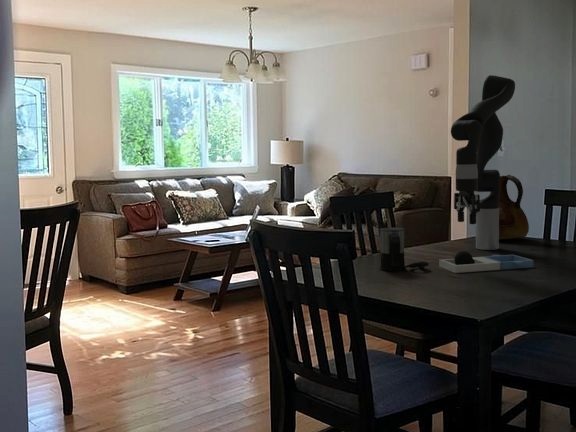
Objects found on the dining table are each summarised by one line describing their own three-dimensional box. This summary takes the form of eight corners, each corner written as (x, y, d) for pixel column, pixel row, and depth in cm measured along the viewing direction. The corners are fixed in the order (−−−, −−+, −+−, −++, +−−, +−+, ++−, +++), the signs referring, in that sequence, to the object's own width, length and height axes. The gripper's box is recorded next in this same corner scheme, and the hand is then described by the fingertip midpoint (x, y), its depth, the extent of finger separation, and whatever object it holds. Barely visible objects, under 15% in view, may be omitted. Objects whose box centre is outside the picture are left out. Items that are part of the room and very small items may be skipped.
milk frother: (375, 267, 241) (374, 227, 239) (413, 264, 245) (413, 225, 244) (393, 274, 227) (392, 232, 226) (433, 270, 232) (433, 229, 230)
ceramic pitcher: (492, 235, 314) (492, 173, 311) (535, 238, 301) (535, 173, 298) (475, 241, 299) (475, 175, 296) (519, 244, 286) (520, 175, 283)
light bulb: (480, 259, 227) (456, 247, 233) (472, 276, 228) (448, 263, 234) (487, 260, 232) (463, 248, 238) (479, 276, 233) (455, 264, 239)
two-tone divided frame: (436, 265, 241) (436, 258, 241) (510, 260, 247) (510, 253, 247) (457, 273, 225) (457, 266, 225) (536, 268, 231) (536, 260, 231)
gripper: (486, 177, 225) (486, 224, 226) (466, 176, 238) (466, 220, 240) (466, 178, 223) (467, 225, 225) (447, 177, 237) (447, 221, 238)
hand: (466, 222), depth 232 cm, fingers open, 8 cm apart
